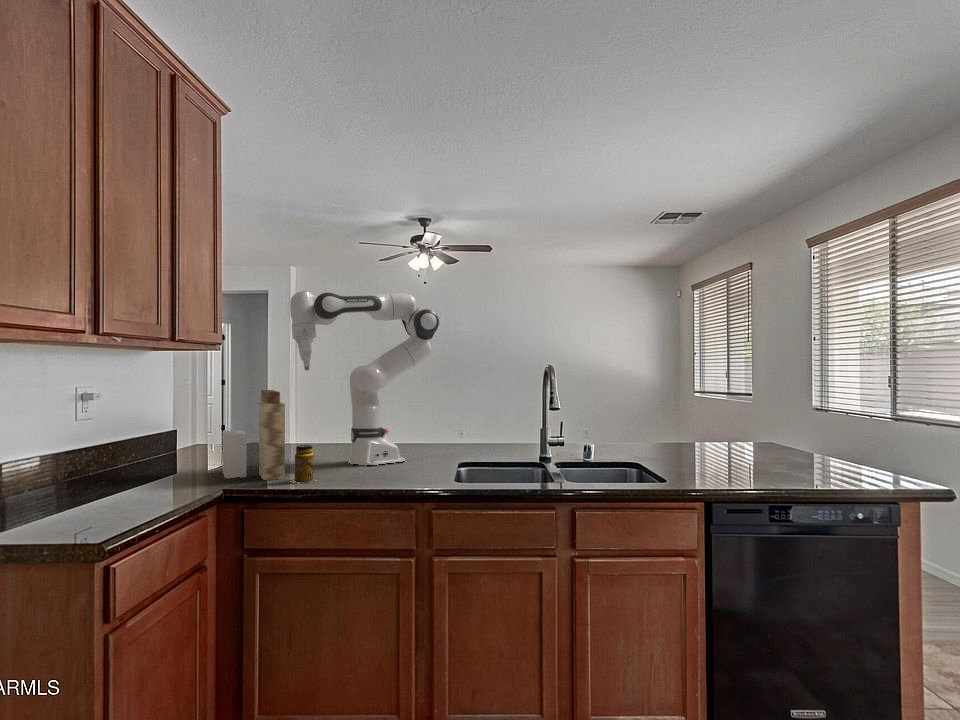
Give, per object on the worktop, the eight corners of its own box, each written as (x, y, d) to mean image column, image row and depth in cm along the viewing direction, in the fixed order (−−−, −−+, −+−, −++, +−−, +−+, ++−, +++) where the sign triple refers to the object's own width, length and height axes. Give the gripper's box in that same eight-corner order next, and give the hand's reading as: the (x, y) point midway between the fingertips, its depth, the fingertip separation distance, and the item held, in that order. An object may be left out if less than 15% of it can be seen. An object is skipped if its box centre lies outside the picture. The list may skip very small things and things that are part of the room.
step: (242, 470, 224) (242, 430, 224) (246, 476, 211) (246, 434, 211) (222, 471, 221) (222, 431, 221) (224, 478, 207) (224, 435, 208)
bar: (272, 401, 225) (272, 389, 225) (279, 404, 207) (279, 391, 207) (261, 401, 223) (261, 390, 223) (267, 404, 205) (267, 392, 205)
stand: (279, 472, 218) (279, 401, 219) (284, 479, 207) (284, 403, 207) (259, 474, 215) (259, 402, 215) (263, 480, 204) (263, 404, 204)
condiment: (318, 481, 203) (318, 445, 203) (294, 484, 197) (295, 448, 197) (307, 478, 208) (308, 443, 208) (284, 481, 202) (284, 446, 202)
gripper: (313, 326, 223) (316, 363, 221) (312, 337, 242) (315, 371, 240) (295, 327, 221) (298, 364, 219) (295, 338, 240) (298, 372, 238)
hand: (307, 368), depth 230 cm, fingers open, 8 cm apart
